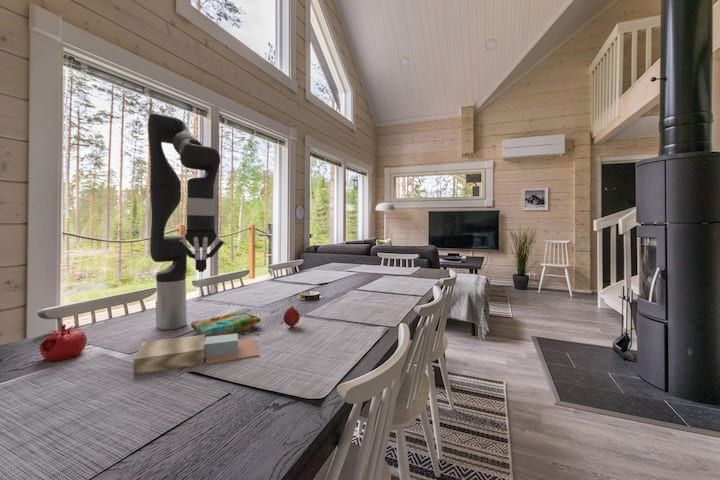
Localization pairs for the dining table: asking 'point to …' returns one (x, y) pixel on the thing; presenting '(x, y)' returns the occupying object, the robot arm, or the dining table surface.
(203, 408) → the dining table surface
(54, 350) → the red tomato
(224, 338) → the pale teal block
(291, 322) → the onion
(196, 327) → the puzzle game
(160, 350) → the birch deck
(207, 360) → the tan flat square slab
